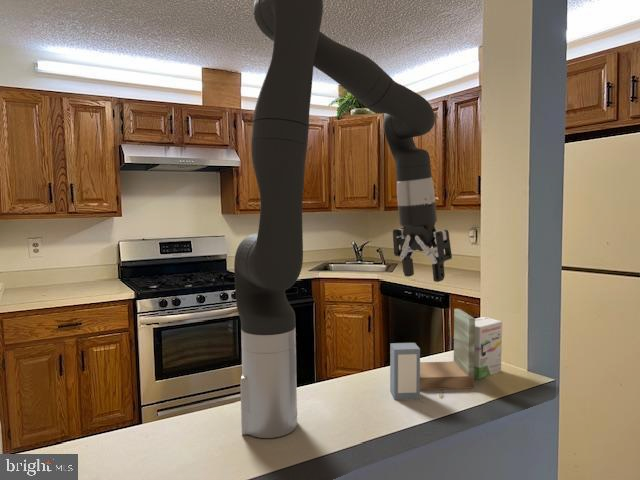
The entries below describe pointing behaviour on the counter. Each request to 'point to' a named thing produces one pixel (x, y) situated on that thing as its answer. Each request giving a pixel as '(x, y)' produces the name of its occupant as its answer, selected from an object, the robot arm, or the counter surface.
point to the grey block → (404, 371)
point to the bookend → (463, 364)
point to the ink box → (487, 347)
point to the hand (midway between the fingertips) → (423, 278)
